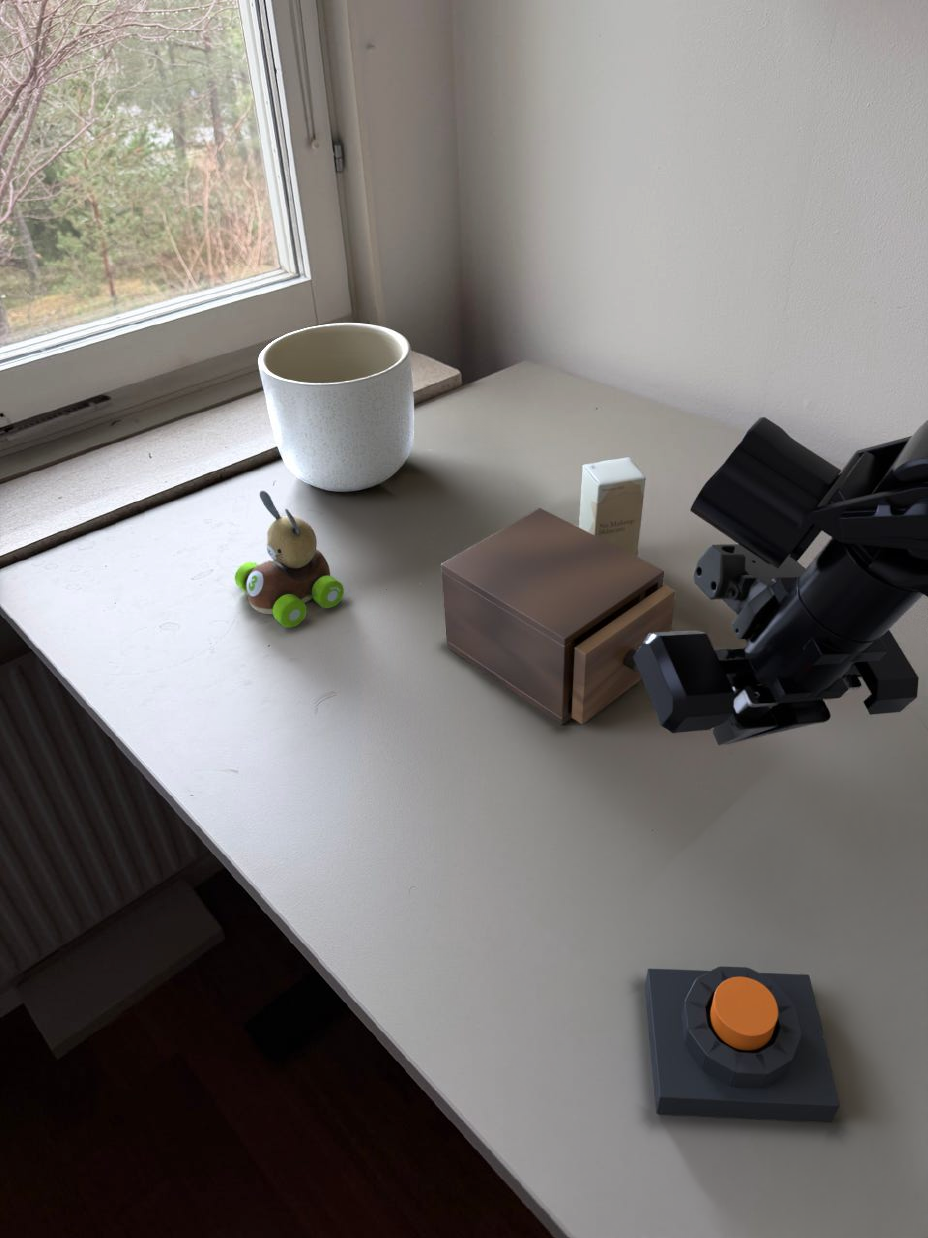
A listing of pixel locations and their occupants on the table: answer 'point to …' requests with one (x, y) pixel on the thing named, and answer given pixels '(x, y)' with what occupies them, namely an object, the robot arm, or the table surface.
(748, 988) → the button
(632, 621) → the brown wooden drawer
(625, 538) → the box
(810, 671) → the robot arm
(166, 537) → the table surface
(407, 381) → the planter
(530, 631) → the nightstand
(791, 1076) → the switch block
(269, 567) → the toy car
